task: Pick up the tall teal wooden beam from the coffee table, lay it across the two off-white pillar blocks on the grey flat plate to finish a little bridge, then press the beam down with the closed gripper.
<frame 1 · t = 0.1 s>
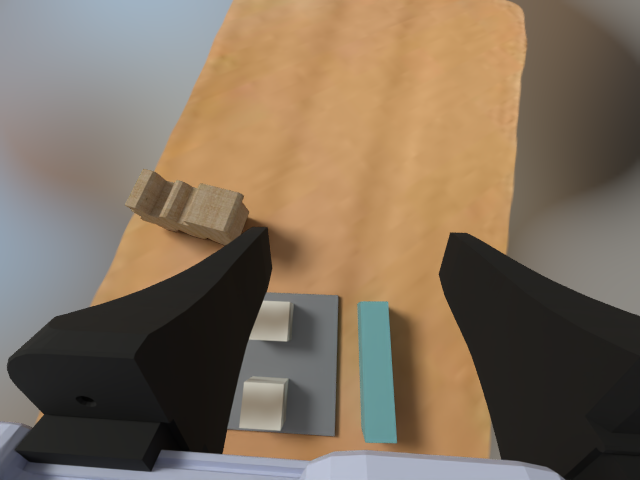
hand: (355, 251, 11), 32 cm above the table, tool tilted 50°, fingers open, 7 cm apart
pillar 1: (268, 397, 38), point 1 cm above the table, touching grey flat plate
toy train: (207, 223, 47), on the table
grey flat plate: (280, 357, 40), on the table
teal beam: (372, 362, 40), on the table
pillar 2: (275, 320, 41), point 1 cm above the table, touching grey flat plate
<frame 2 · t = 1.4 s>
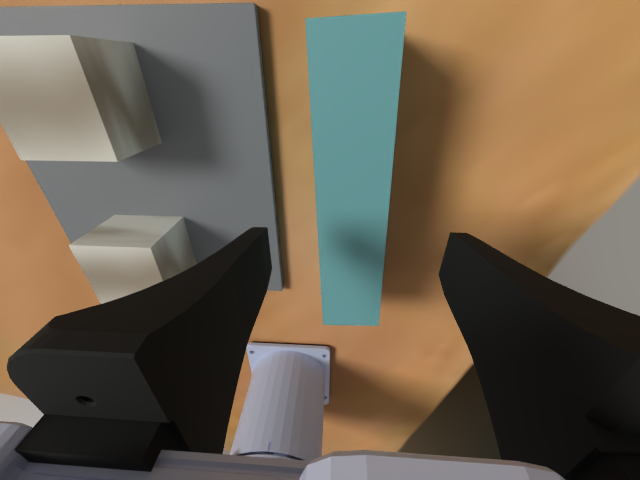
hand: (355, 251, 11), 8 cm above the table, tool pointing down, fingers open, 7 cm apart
pillar 1: (159, 245, 21), point 1 cm above the table, touching grey flat plate
grey flat plate: (156, 178, 19), on the table
teal beam: (349, 181, 19), on the table
pillar 2: (106, 96, 16), point 1 cm above the table, touching grey flat plate
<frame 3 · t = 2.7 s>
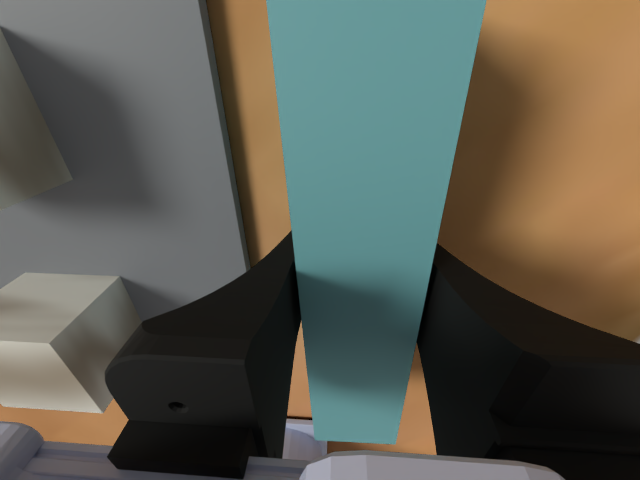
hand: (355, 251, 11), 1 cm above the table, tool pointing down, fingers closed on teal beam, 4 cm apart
pillar 1: (93, 310, 15), point 1 cm above the table, touching grey flat plate
grey flat plate: (77, 225, 13), on the table
teal beam: (353, 232, 13), on the table, touching gripper
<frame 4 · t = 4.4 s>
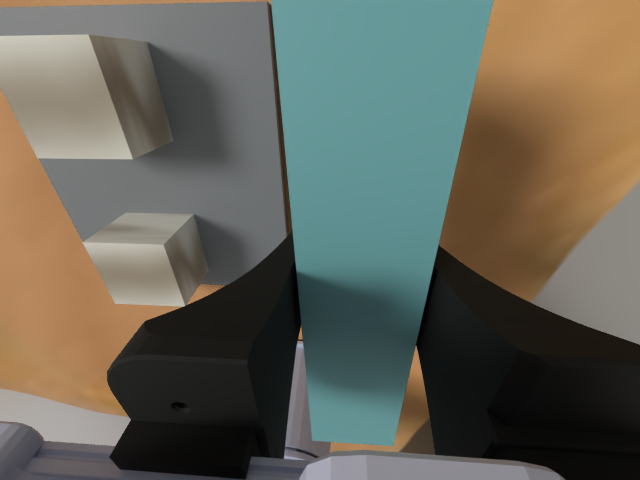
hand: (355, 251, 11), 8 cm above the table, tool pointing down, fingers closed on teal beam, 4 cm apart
pillar 1: (169, 243, 21), point 1 cm above the table, touching grey flat plate
grey flat plate: (167, 176, 19), on the table
teal beam: (354, 232, 13), point 7 cm above the table, touching gripper
pillar 2: (119, 95, 16), point 1 cm above the table, touching grey flat plate
when the fingers open (8 cm above the table, at t = 6.1 s): teal beam drops 1 cm, resting on pillar 1, pillar 2.
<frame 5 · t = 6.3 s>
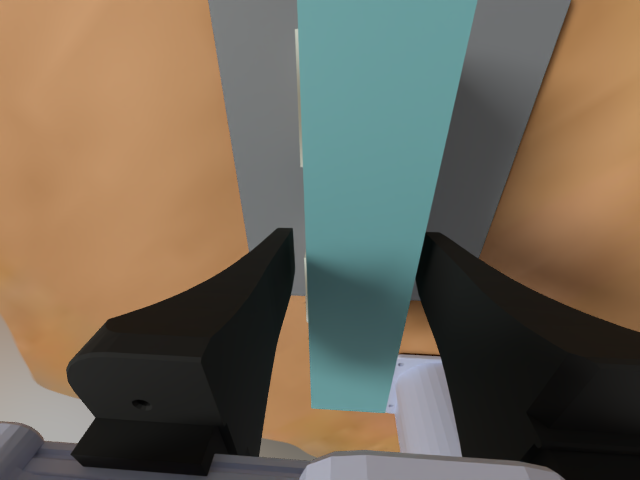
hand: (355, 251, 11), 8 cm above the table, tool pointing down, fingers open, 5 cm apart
grey flat plate: (366, 184, 18), on the table
teal beam: (353, 218, 14), point 5 cm above the table, touching pillar 1, pillar 2
pillar 2: (355, 96, 15), point 1 cm above the table, touching grey flat plate, teal beam
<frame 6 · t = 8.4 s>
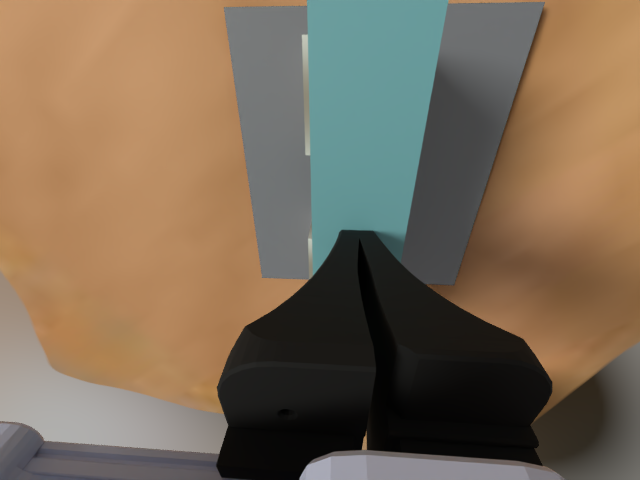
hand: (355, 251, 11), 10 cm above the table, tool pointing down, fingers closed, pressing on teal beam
grey flat plate: (364, 174, 19), on the table
teal beam: (352, 202, 16), point 5 cm above the table, touching gripper, pillar 1, pillar 2
pillar 2: (354, 93, 16), point 1 cm above the table, touching grey flat plate, teal beam
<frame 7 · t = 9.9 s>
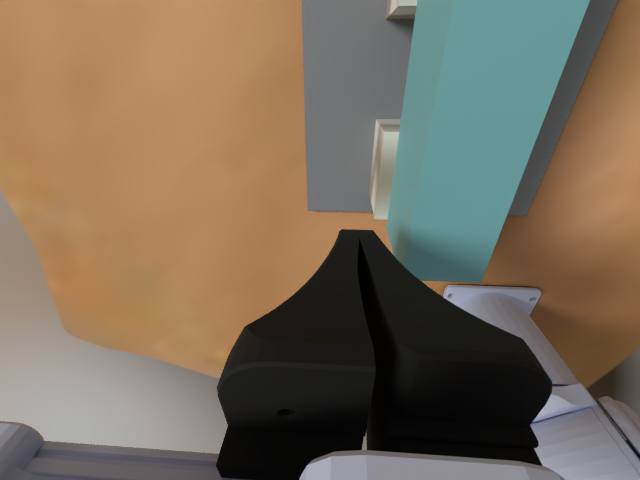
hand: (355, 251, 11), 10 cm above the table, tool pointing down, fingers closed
pillar 1: (409, 159, 19), point 1 cm above the table, touching grey flat plate, teal beam
grey flat plate: (438, 72, 17), on the table
teal beam: (446, 75, 13), point 5 cm above the table, touching pillar 1, pillar 2
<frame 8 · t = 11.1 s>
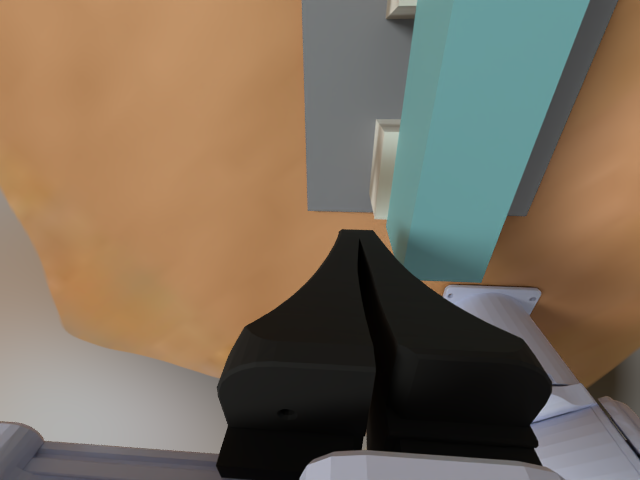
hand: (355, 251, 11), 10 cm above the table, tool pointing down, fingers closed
pillar 1: (409, 159, 19), point 1 cm above the table, touching grey flat plate, teal beam
grey flat plate: (438, 72, 17), on the table
teal beam: (446, 75, 13), point 5 cm above the table, touching pillar 1, pillar 2
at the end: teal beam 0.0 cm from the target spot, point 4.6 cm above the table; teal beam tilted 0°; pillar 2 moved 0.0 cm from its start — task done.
